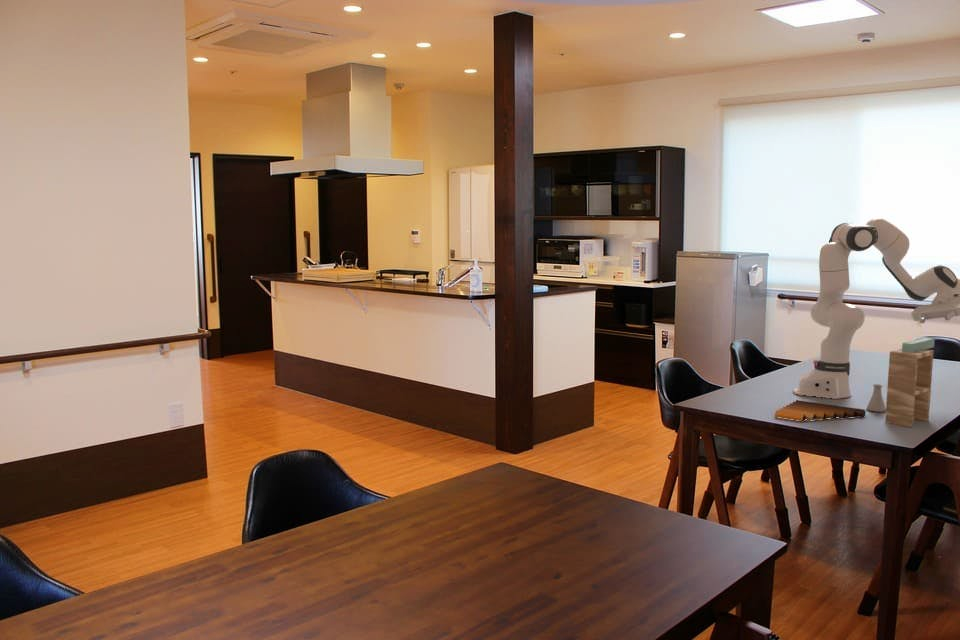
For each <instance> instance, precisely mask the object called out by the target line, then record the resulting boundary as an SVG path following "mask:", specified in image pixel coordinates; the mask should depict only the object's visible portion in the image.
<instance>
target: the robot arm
mask: <svg viewBox="0 0 960 640" xmlns="http://www.w3.org/2000/svg"><path fill="white" fill-rule="evenodd" d="M910 245H911V243H910V239H909V237H908V236H907V234H905V233H904V232H903V231H902V230H901V229H900V228H898V227H897V226H895V225H894V224H892V222H889V221H888V220H886V219H884V218H881V217H874V218H871V219H870V220H868V221H867V223H865V224H860V223H855V222H843V223H840V224H838V225H836V226H835V227H834V228H833V229H832V231H831V235H830V238H829V240H828V243H826V244H824V245H823V246H822V247H821V248H820V251H819V259H818V260H819V262H818V264H819V265H818V267H819V269H818V270H819V294H818V298H817V300H816V302H815V304H813V305H812V308H811V309H810V316H811V319H812V320H813V322H815V323H816V324H818V325H820V326H823V327H825V328H829V331H828V333H827V335H826V337H825V338H824V339H822V341H821V342H820V353H819V354H820V355H819V360H818V359H814V360H813V365H814V366H813V367H814V369H812V370H810V371H809V372H807V373H806V374H804V375H802V376H801V378H800V380H799V383H798V386H796V387H793V390H792V391H793V394H795V395H797V394H798V396H803V395H806V396H805V397H812V396H816V397H815V398H821V397H823V398H824V397H825V398H824V399H830V398H832V399H833V400H838V399H842V398H843V399H846V398H850V397H852V394H851V387H850V380H849V378H850V377H849V376H850V373H851V371H850V370H851V362H850V353H851V352H850V351H851V350H850V349H851V344H852V340H853V337H854V336H855V333H856V332H857V331H858V330H859V329H860V328H862V326H863V325H864V323H865V319H866V317H865V313H864V311H863V309H862V308H860V307H858V306H856V305H854V304H851V303H845V302H843V299H844V295H845V293H846V292H847V291H848V290H849V288H850V287H851V286H850V284H851V283H850V271H849V257H850V254H851V252H863V251H866V250H868V249H870V248H871V247H872V246H873V247H874V248H876V249H877V250H878V251H879V252H880V253H881V254H882V258H881V262H882V264H883V266H884V267H885V268H886V270H887V271H888V272H889V273H890V274H891V275H892V277H894V279H895V280H896V281H897V282H898V284H899V285H901V287H902V288H903V290H904V291H905V293H906V295H907V296H908V297H909V298H910V299H912V300H914V301H917V302H922V301H925V300H926V299H928V298H929V297H931V296H933V295H935V294H936V296H935V297H934V298H933V300H932V301H931V303H930V304H928V303H927V304H921V305H919V306H916V307H915V309H913V310H912V311H911V313H910V314H911V315H910V316H911V319H913V321H914V322H918V321H919V324H925V323H926V321H927V320H935V319H937V320H938V319H944V320H945V321H947V322H948V321H950V320H951V319H954V318H955V317H960V279H959V278H957V276H956V274H955V273H954V272H953V271H952V270H951V269H950V268H949V267H947V266H945V265H942V264H936V265H934V266H932V267H930V268H928V269H926V270H925V271H923V272H922V273H919V274H918V275H914V276H913V275H911V274H909V272H908V271H907V270H906V269H905V268H904V266H903V265H902V264H901V261H902V260H903V259H904V258H905V257H906V255H907V254H908V251H909V250H910V249H909V248H910ZM823 398H822V399H823Z"/></svg>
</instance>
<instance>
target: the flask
mask: <svg viewBox="0 0 960 640" xmlns="http://www.w3.org/2000/svg"><path fill="white" fill-rule="evenodd" d="M882 387H883V385H882V384H878V383H874V384H873V392H872V395H871V397H870V400H869V402H868V403H867V406H866V408H865V409H866V410H865V411H870V412H876V413H884V412H885V413H886V405H885V404H886V403H885V402H884V398H883V395H882V393H883V392H882Z"/></svg>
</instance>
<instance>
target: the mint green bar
mask: <svg viewBox="0 0 960 640" xmlns="http://www.w3.org/2000/svg"><path fill="white" fill-rule="evenodd" d="M935 339H936V338H930V337H921V338H919V339H914V340H910V341H905V342H902V347H901V349H902V352H907V353H913V352H917V351H921V350H925V349H926V350H930V349H933V348H935V341H936V340H935Z"/></svg>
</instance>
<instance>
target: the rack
mask: <svg viewBox="0 0 960 640" xmlns="http://www.w3.org/2000/svg"><path fill="white" fill-rule="evenodd" d="M934 352H935V351H934V350H933V349H932V350H931V349H925V350H921V351H917V352H913V353H907V352H902V348H900V349H895V350H891V351H889V358H888V360H889V363H888V376H887V387H886V388H887V389H886V403H885V404H886V405H885V407H886V411H885V419H884V420H885V421H884V422H885V423H886V422H889V423H888V424H891V423H894V424H893V425H897V424H898V425H899V426H902V425H903V426H902V427H907V428H908V427H909V428H913V427H914V422H915V421H914V420H918V421H925V422H929V419H930V406H931V405H930V404H931V392H932V382H933V381H932V380H933V367H934V366H933V364H934ZM898 425H897V426H898Z"/></svg>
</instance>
